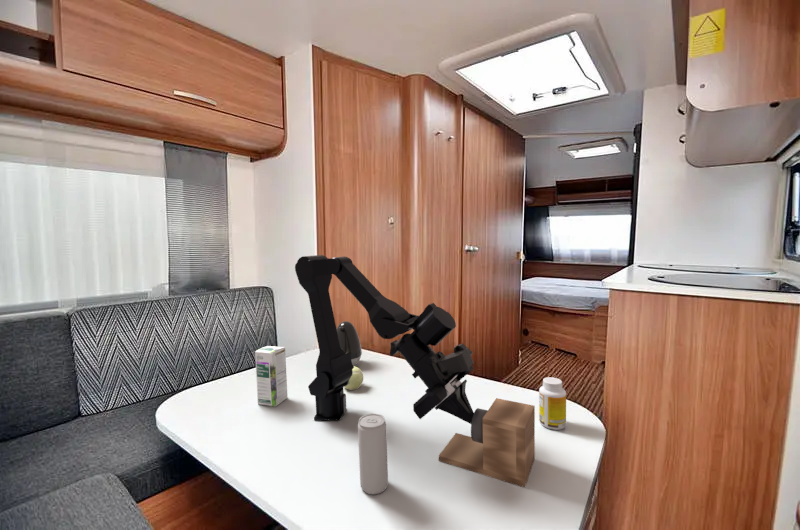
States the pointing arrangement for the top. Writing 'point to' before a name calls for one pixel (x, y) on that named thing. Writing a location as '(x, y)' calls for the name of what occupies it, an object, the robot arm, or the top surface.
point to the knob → (477, 425)
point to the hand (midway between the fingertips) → (474, 422)
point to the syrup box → (271, 375)
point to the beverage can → (373, 453)
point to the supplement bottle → (552, 404)
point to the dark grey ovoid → (349, 341)
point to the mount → (498, 444)
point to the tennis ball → (355, 379)
